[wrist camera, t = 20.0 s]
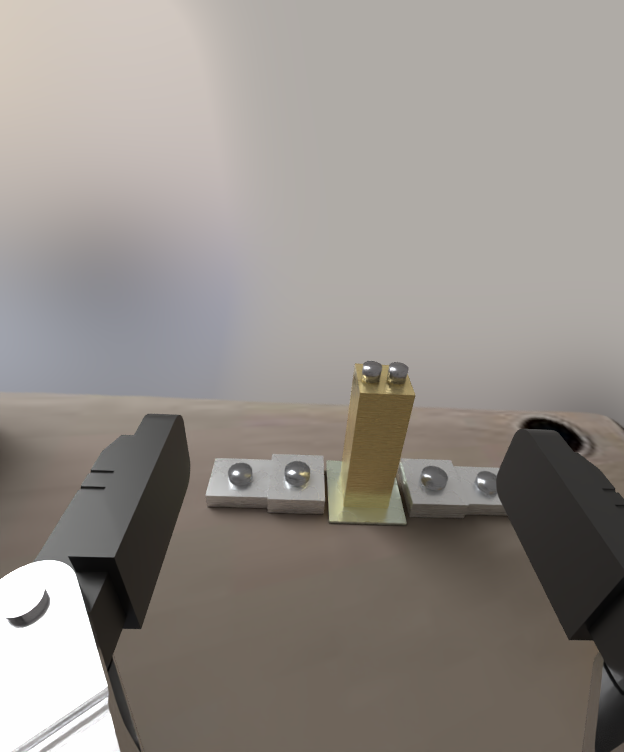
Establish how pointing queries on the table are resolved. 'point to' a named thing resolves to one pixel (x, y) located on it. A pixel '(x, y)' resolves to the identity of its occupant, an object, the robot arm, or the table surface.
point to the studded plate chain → (307, 492)
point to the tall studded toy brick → (375, 433)
